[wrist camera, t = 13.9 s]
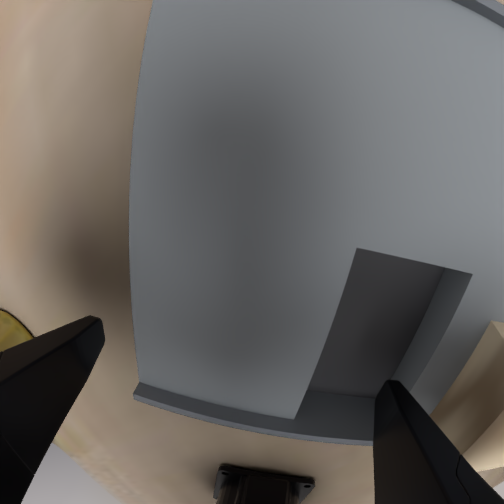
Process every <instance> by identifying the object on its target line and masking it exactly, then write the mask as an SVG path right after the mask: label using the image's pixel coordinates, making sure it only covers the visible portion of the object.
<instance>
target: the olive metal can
mask: <svg viewBox="0 0 504 504" xmlns="http://www.w3.org/2000/svg"><path fill="white" fill-rule="evenodd" d="M30 339H33V337H32V336H31V334H30V333H29V332H28V331H27V330H26V328H25V327H24V326H23V325H22V324H21V323H20V322H18V321H17V320H16V319H15V318H14V317H12V316H11V315H9V314H8V313H6V312H4V311H1V310H0V352H1V351H4V350H6V349H8V348H11V347H13V346H15V345H18V344H20V343H23V342H25V341H28V340H30Z"/></svg>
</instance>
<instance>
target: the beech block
mask: <svg viewBox="0 0 504 504" xmlns="http://www.w3.org/2000/svg"><path fill="white" fill-rule="evenodd" d="M429 416H430V417H431V418H432V419H433V421H434V422H435V423H436V424H437V425H438V427H439V428H440V429H441V430H442V431H443V433H444V434H445V435H446V436H447V437H448V439H449V440H450V441H451V442H452V443H453V445H454V446H455V447H456V448H457V449H458V451H459V452H460V454H462V455H463V457H464V458H465V459H466V460H467V462H468V463H469V464H470V465H471V466H472V467H473V468H474V470H475V471H476V472H479V471H484V470H489V469H494V468H498V467H503V466H504V323H503V322H497V321H491V322H490V323H489V325H488V327H487V329H486V331H485V333H484V334H483V336H482V338H481V340H480V341H479V343H478V345H477V347H476V348H475V350H474V352H473V353H472V355H471V356H470V358H469V360H468V361H467V363H466V364H465V366H464V368H463V369H462V371H461V372H460V374H459V375H458V377H457V378H456V380H455V381H454V383H453V384H452V385H451V387H450V388H449V390H448V391H447V393H446V394H445V395H444V397H443V398H442V399H441V401H440V402H439V404H438V405H437V406H436V407H435V409H434V410H433V411H432V413H431V414H430V415H429Z"/></svg>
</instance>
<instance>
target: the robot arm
mask: <svg viewBox="0 0 504 504" xmlns="http://www.w3.org/2000/svg"><path fill="white" fill-rule="evenodd" d="M104 342H105V335H104V329H103V323H102V320H101V319H100V318H98V317H95V316H91V315H90V316H87V317H84V318H82V319H79V320H77V321H74V322H72V323H69V324H67V325H64V326H62V327H60V328H57V329H55V330H52V331H50V332H47V333H45V334H42V335H40V336H38V337H35V338H33V339H30V340H28V341H25V342H23V343H20V344H18V345H15V346H13V347H11V348H8V349H6V350H4V351H1V352H0V504H21V502H22V499H23V498H24V496H25V494H26V492H27V489H28V488H29V486H30V483H31V481H32V479H33V477H34V474H35V473H36V471H37V469H38V467H39V465H40V463H41V461H42V460H43V457H44V456H45V454H46V452H47V450H48V448H49V446H50V444H51V443H52V441H53V439H54V437H55V435H56V433H57V432H58V430H59V428H60V426H61V425H62V423H63V421H64V419H65V417H66V416H67V414H68V412H69V410H70V409H71V407H72V405H73V404H74V402H75V400H76V398H77V397H78V395H79V393H80V392H81V390H82V388H83V387H84V385H85V383H86V381H87V379H88V377H89V375H90V373H91V371H92V369H93V367H94V364H95V362H96V360H97V358H98V356H99V354H100V352H101V350H102V347H103V345H104ZM373 458H374V485H375V504H504V499H502V497H501V496H500V495H498V493H497V492H496V491H494V489H493V488H492V487H491V486H490V485H489V484H488V483H487V482H486V481H485V480H484V479H483V478H482V477H481V476H480V475H479V474H478V473H477V472H476V471H475V470H474V468H473V467H472V466H471V465H470V464H469V463H468V462H467V460H466V459H465V458H464V457H463V455H462V454H460V452H459V451H458V449H457V448H456V447H455V446H454V445H453V443H452V442H451V441H450V440H449V439H448V437H447V436H446V435H445V434H444V433H443V431H442V430H441V429H440V428H439V427H438V425H437V424H436V423H435V422H434V421H433V419H432V418H431V417H430V416H429V415H428V413H427V412H426V411H425V410H424V409H423V408H422V406H421V405H420V404H419V403H418V402H417V401H416V399H415V398H414V397H413V396H412V395H411V394H410V392H409V391H408V390H407V389H406V388H405V387H404V385H403V384H402V383H401V382H400V381H399V380H391V379H388V380H386V381H385V382H384V384H383V386H382V388H381V389H380V391H379V393H378V394H377V396H376V399H375V407H374V432H373ZM314 487H315V480H313V479H306V478H297V477H288V476H281V475H274V474H267V473H261V472H255V471H250V470H244V469H239V468H235V467H230V466H219V469H218V473H217V478H216V484H215V490H214V495H213V498H215V499H217V503H216V504H300V503H301V502H302V501H303V500H304V499H305V497H306V496H307V495H308V494H309V493H310V492H311V491H312V489H313V488H314Z"/></svg>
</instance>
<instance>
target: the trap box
mask: <svg viewBox="0 0 504 504" xmlns="http://www.w3.org/2000/svg"><path fill="white" fill-rule="evenodd" d="M129 262H130V287H131V304H132V318H133V330H134V340H135V350H136V359H137V367H138V375H139V384H138V386H137V387H136V389H135V391H134V393H133V397H134V400H137V401H140V402H143V403H146V404H149V405H152V406H155V407H158V408H161V409H164V410H168V411H171V412H174V413H178V414H181V415H184V416H188V417H192V418H195V419H199V420H203V421H207V422H211V423H215V424H219V425H223V426H228V427H232V428H237V429H241V430H246V431H251V432H256V433H262V434H267V435H273V436H279V437H285V438H292V439H299V440H307V441H315V442H325V443H335V444H347V445H363V446H373V432H374V407H375V399H376V396H377V394H378V393H379V391H380V389H381V388H382V386H383V384H384V382H385V381H386V380H388V379H391V380H399V381H400V382H401V383H402V384H403V385H404V387H405V388H406V389H407V390H408V391H409V392H410V394H411V395H412V396H413V397H414V398H415V399H416V401H417V402H418V403H419V404H420V405H421V406H422V408H423V409H424V410H425V411H426V412H427V413H428V415H430V414H431V413H432V411H433V410H434V409H435V407H436V406H437V405H438V404H439V402H440V401H441V399H442V398H443V397H444V395H445V394H446V393H447V391H448V390H449V388H450V387H451V385H452V384H453V383H454V381H455V380H456V378H457V377H458V375H459V374H460V372H461V371H462V369H463V368H464V366H465V364H466V363H467V361H468V360H469V358H470V356H471V355H472V353H473V352H474V350H475V348H476V347H477V345H478V343H479V341H480V340H481V338H482V336H483V334H484V333H485V331H486V329H487V327H488V325H489V323H490V322H491V321H497V322H503V323H504V5H502V4H501V3H499V2H497V1H496V0H153V4H152V8H151V13H150V17H149V22H148V27H147V33H146V38H145V43H144V49H143V55H142V61H141V68H140V75H139V82H138V90H137V98H136V107H135V116H134V126H133V138H132V152H131V169H130V193H129Z"/></svg>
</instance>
